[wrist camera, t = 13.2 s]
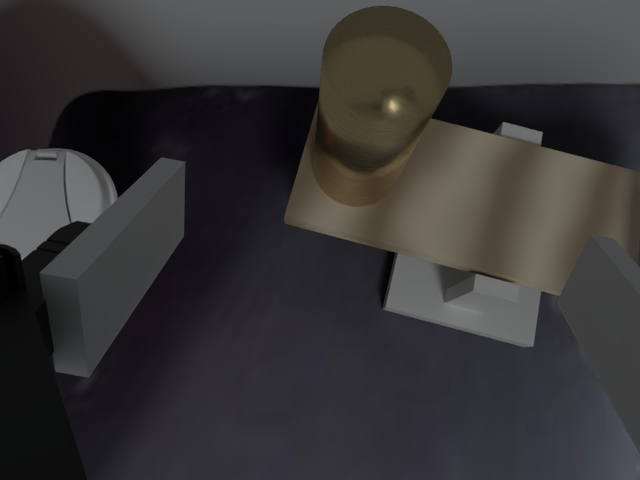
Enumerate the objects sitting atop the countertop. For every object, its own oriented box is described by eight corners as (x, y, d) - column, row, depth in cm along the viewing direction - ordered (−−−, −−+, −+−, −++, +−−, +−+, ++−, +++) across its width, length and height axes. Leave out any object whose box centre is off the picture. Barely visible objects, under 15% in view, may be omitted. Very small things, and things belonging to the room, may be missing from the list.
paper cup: (83, 212, 41) (-22, 136, 27) (175, 215, 41) (117, 141, 28) (69, 305, 39) (-51, 273, 25) (167, 308, 39) (99, 276, 26)
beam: (698, 206, 37) (767, 178, 32) (690, 335, 35) (764, 328, 29) (319, 109, 38) (323, 65, 32) (285, 228, 35) (282, 202, 30)
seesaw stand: (550, 171, 44) (604, 129, 36) (524, 347, 40) (579, 342, 32) (330, 114, 44) (337, 60, 37) (282, 282, 40) (279, 262, 32)
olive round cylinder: (415, 177, 34) (478, 78, 22) (346, 223, 33) (374, 144, 21) (364, 112, 35) (399, -15, 23) (296, 154, 34) (296, 44, 22)
